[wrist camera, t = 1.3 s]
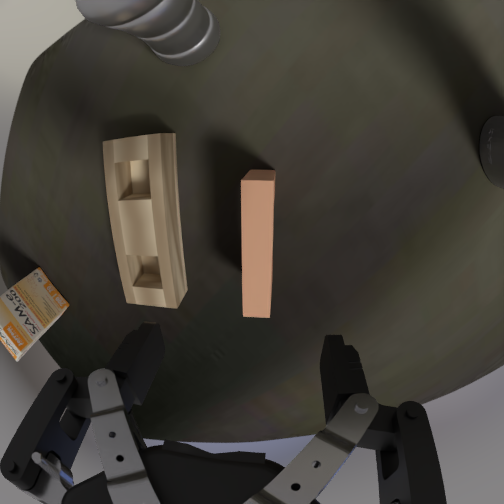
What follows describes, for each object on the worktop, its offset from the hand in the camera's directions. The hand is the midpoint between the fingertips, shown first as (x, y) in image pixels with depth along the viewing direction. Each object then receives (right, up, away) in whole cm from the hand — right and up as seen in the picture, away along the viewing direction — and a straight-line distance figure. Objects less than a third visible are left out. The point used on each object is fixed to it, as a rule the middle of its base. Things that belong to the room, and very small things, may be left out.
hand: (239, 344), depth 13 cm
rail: (-10, +8, +17) cm, 21 cm away
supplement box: (-32, -2, +24) cm, 40 cm away
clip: (+2, +7, +16) cm, 18 cm away
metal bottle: (-5, +26, +9) cm, 28 cm away
